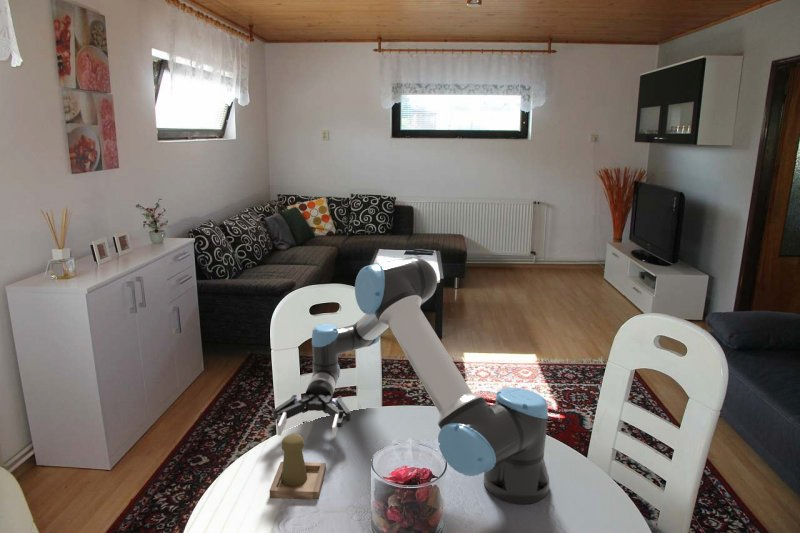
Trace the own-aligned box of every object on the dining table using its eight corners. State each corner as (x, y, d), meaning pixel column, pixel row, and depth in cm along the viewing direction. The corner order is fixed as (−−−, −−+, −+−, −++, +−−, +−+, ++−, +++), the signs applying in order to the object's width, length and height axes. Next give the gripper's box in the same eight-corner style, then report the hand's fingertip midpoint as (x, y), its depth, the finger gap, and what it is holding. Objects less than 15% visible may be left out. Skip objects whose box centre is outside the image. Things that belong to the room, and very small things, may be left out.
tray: (326, 470, 138) (325, 462, 138) (318, 499, 128) (318, 491, 127) (281, 468, 139) (280, 461, 138) (269, 498, 128) (269, 490, 128)
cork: (311, 472, 136) (309, 431, 133) (301, 488, 130) (300, 446, 127) (287, 469, 137) (285, 428, 134) (277, 485, 131) (275, 443, 128)
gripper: (364, 404, 162) (356, 446, 142) (277, 402, 163) (257, 443, 142) (364, 380, 160) (356, 419, 140) (276, 378, 161) (255, 416, 141)
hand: (306, 431), depth 141 cm, fingers open, 13 cm apart
